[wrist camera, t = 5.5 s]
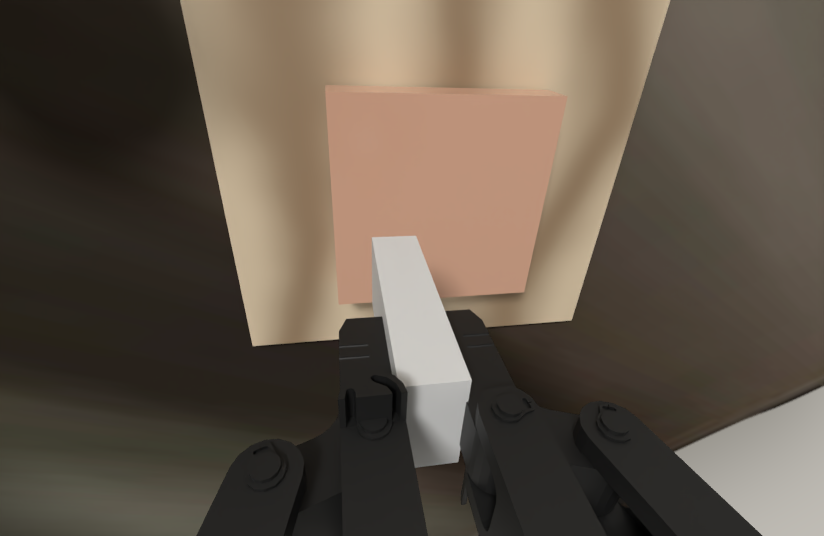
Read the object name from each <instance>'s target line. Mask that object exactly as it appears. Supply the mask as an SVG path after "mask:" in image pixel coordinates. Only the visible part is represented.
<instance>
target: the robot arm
mask: <svg viewBox="0 0 824 536" xmlns="http://www.w3.org/2000/svg"><path fill="white" fill-rule="evenodd" d="M372 306H373V313H374V317H366V318H351V319H346V320H345V322H344V323H343V325H342V327H341V329H340V330H339V360H340V361H339V363H340V393H339V397H338V406H339V414H338V417H337V419H336V421H335V422H334V423H333V424H332V426H331V427H330V428H329V429H328V430H326V431H325V432H324V433H323V434H321V435H319V436H318V437H316V438H314V439H312V440H309V441H307V442H304V443H302V444H300V445H297V446H295V445H294V444H292V443H291V442H288V441H284V440H281V439H272V440H264V441H261V442H259V443H256V444H254V445H251V446H250V447H249V448H247V449H246V450H245V451H243V452H242V453H241V454H240V455H238V457H237V458H236V460H235V461H234V462H233V464H232V465H231V467H230V468H229V470H228V472H227V474H226V476H225V478H224V480H223V482H222V484H221V487H220V489H219V491H218V493H217V495H216V497H215V499H214V501H213V503H212V505H211V507H210V509H209V511H208V513H207V515H206V517H205V519H204V521H203V524H202V526H201V528H200V530H199V532H198V534H197V536H428V534H427V529H426V523H425V518H424V513H423V507H422V502H421V497H420V491H419V486H418V481H417V476H416V470H415V468H417V467H424V466H432V465H440V464H447V463H455V462H458V460H459V454H460V448H461V451H462V455H463V458H464V461H465V465H466V469H465V474H464V480H463V485H462V490H461V505H465V504H466V502H467V497H468V498H469V502H470V505H471V509H472V513H473V516H474V520H475V523H476V527H477V530H478V534H479V536H762V535H761V534H760V533H759V532H758V531H757V530H755V528H754V527H753V526H752V525H750V524H749V523H748V522H747V521H746V520H745V519H744V518H743V517H742V516H741V515H740V514H739V513H738V512H737V511H736V510H735V509H734V508H733V507H731V506H730V505H729V504H728V503H727V502H726V501H725V500H724V499H723V498H722V497H721V496H720V495H719V494H718V493H716V491H714V490H713V489H712V488H711V487H710V486H709V485H708V484H707V483H706V482H705V481H704V480H703V479H702V478H701V477H700V476H699V475H698V474H696V473H695V472H694V471H693V470H692V469H691V468H690V467H689V466H688V465H687V464H686V463H685V462H684V461H683V460H682V459H681V458H679V457H678V456H677V455H676V454H675V453H674V452H673V451H672V450H671V449H670V448H669V447H668V446H667V445H666V444H665V443H664V442H663V441H661V440H660V439H659V438H658V437H657V436H656V435H655V434H654V433H653V432H652V431H651V430H650V429H649V428H648V427H647V426H646V425H644V424H643V423H642V422H641V421H640V420H639V419H638V418H637V417H636V416H634V415H633V414H632V413H630V412H629V411H628V410H626V409H625V408H623V407H620V406H618V405H616V404H613V403H609V402H603V401H597V402H590V403H588V404H587V405H585V406H584V407H583V408H582V410H581V412H580V415H576V414H571V413H565V412H559V411H553V410H549V409H545V408H542V407H540V406H538V405H537V404H536V402H535V401H534V400H533V399H532V397H531V396H529V395H528V394H526V393H525V392H523V391H522V390H520V389H517V388H516V386H515V385H514V383H513V381H512V379H511V377H510V375H509V373H508V371H507V369H506V367H505V365H504V363H503V361H502V359H501V357H500V355H499V353H498V351H497V349H496V347H495V346H494V343H493V341H492V338H491V336H490V335H489V332H488V330H487V328H486V326H485V324H484V322H483V320H482V319H481V318H479V317H478V316H477V315H476V314H475V313H474V312H472V311H471V310H470V309H467V310H452V311H445V310H444V307H443V304H442V302H441V299H440V297H439V294H438V291H437V289H436V286H435V284H434V281H433V278H432V276H431V273H430V271H429V268H428V266H427V263H426V260H425V258H424V255H423V253H422V250H421V247H420V245H419V242H418V240H417V237H416V236H394V237H372Z"/></svg>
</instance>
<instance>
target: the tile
mask: <svg viewBox="0 0 824 536" xmlns="http://www.w3.org/2000/svg"><path fill="white" fill-rule="evenodd" d="M325 96H326V112H327V128H328V144H329V160H330V176H331V192H332V208H333V224H334V240H335V255H336V271H337V287H338V303H339V305H341V304H356V303H371V302H372V237H394V236H416V237H417V240H418V242H419V245H420V247H421V250H422V253H423V255H424V258H425V260H426V263H427V266H428V268H429V271H430V273H431V276H432V278H433V281H434V284H435V286H436V289H437V291H438V294H439V297H440V298H446V297H461V296H476V295H491V294H506V293H521V292H524V290H525V286H526V281H527V277H528V272H529V268H530V263H531V259H532V254H533V250H534V245H535V241H536V236H537V232H538V228H539V223H540V219H541V214H542V210H543V205H544V201H545V196H546V192H547V187H548V183H549V178H550V174H551V169H552V165H553V160H554V156H555V151H556V147H557V142H558V138H559V133H560V129H561V124H562V120H563V115H564V111H565V106H566V102H567V97H568V96H565V95H562V94H559V93H556V92H553V91H550V90H533V89H487V88H440V87H394V86H347V85H326V86H325Z"/></svg>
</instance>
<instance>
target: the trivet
mask: <svg viewBox="0 0 824 536" xmlns="http://www.w3.org/2000/svg"><path fill="white" fill-rule="evenodd" d="M180 2H181V7H182V12H183V17H184V21H185V26H186V31H187V36H188V40H189V45H190V50H191V55H192V59H193V64H194V69H195V74H196V78H197V83H198V88H199V93H200V97H201V102H202V107H203V112H204V116H205V121H206V126H207V131H208V135H209V140H210V145H211V150H212V154H213V159H214V164H215V169H216V173H217V178H218V183H219V188H220V192H221V197H222V202H223V207H224V211H225V216H226V221H227V226H228V230H229V235H230V240H231V245H232V249H233V254H234V259H235V264H236V268H237V273H238V278H239V283H240V287H241V292H242V297H243V302H244V306H245V311H246V316H247V321H248V325H249V330H250V335H251V340H252V344H253V346H261V345H273V344H286V343H298V342H310V341H323V340H335V339H339V330H340V329H341V327H342V325H343V323H344V322H345V320H346V319H351V318H366V317H374V313H373V306H372V302H371V303H356V304H341V305H339V303H338V287H337V271H336V255H335V240H334V224H333V208H332V192H331V176H330V160H329V144H328V128H327V112H326V96H325V86H326V85H347V86H394V87H440V88H487V89H533V90H550V91H553V92H556V93H559V94H562V95H565V96H568V97H567V102H566V106H565V111H564V115H563V120H562V124H561V129H560V133H559V138H558V142H557V147H556V151H555V156H554V160H553V165H552V169H551V174H550V178H549V183H548V187H547V192H546V196H545V201H544V205H543V210H542V214H541V219H540V223H539V228H538V232H537V236H536V241H535V245H534V250H533V254H532V259H531V263H530V268H529V272H528V277H527V281H526V286H525V290H524V292H521V293H506V294H491V295H476V296H461V297H446V298H440V299H441V302H442V304H443V307H444V310H445V311H452V310H467V309H470V310H471V311H472V312H474V313H475V314H476V315H477V316H478V317H479V318H481V319H482V320H483V322H484V324H485V326H486V327H496V326H509V325H521V324H533V323H546V322H558V321H571V320H572V317H573V314H574V311H575V307H576V304H577V301H578V298H579V294H580V291H581V288H582V285H583V282H584V278H585V275H586V272H587V269H588V265H589V262H590V259H591V256H592V252H593V249H594V246H595V243H596V239H597V236H598V233H599V230H600V226H601V223H602V220H603V217H604V213H605V210H606V207H607V204H608V200H609V197H610V194H611V191H612V188H613V184H614V181H615V178H616V175H617V171H618V168H619V165H620V162H621V158H622V155H623V152H624V149H625V145H626V142H627V139H628V136H629V132H630V129H631V126H632V123H633V119H634V116H635V113H636V110H637V106H638V103H639V100H640V97H641V94H642V90H643V87H644V84H645V81H646V77H647V74H648V71H649V68H650V64H651V61H652V58H653V55H654V51H655V48H656V45H657V42H658V38H659V35H660V32H661V29H662V25H663V22H664V19H665V16H666V12H667V9H668V6H669V3H670V0H180Z"/></svg>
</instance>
